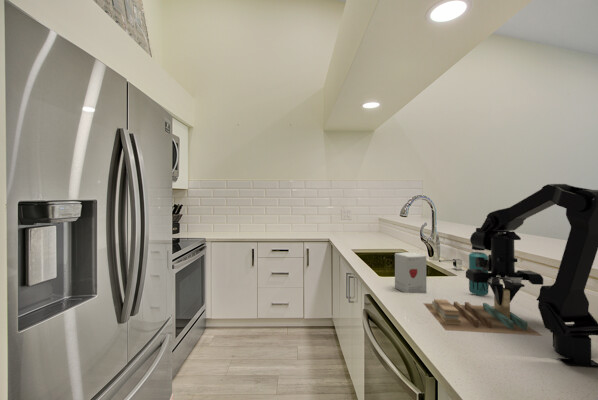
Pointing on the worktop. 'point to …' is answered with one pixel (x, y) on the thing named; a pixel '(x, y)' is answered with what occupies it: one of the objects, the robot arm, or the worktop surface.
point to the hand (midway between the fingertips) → (503, 304)
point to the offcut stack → (446, 311)
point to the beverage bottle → (480, 287)
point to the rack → (485, 320)
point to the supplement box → (410, 272)
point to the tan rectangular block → (503, 303)
